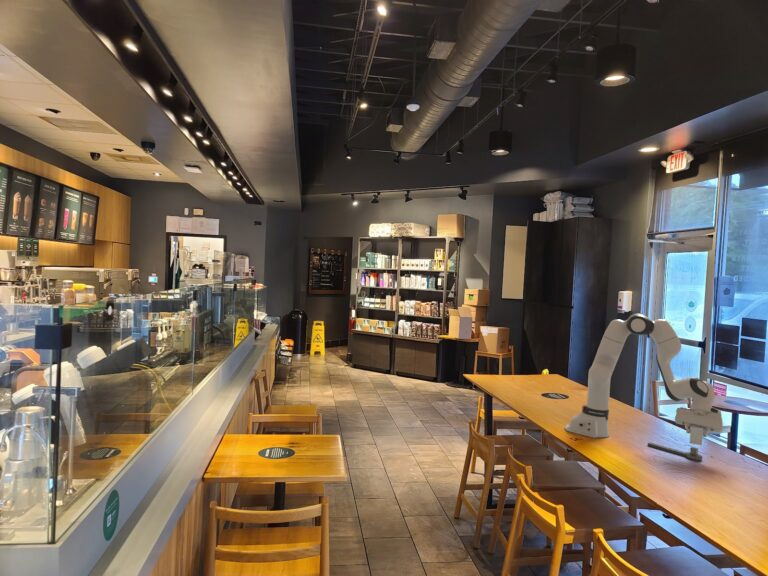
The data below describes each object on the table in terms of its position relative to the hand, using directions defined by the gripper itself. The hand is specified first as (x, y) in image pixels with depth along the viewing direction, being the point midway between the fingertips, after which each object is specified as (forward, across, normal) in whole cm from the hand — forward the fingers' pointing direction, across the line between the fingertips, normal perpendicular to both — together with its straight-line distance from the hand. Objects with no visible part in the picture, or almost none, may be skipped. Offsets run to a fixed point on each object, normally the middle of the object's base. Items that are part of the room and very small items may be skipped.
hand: (696, 434), depth 254 cm
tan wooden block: (+3, 0, +4) cm, 4 cm away
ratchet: (+7, -9, +10) cm, 15 cm away
